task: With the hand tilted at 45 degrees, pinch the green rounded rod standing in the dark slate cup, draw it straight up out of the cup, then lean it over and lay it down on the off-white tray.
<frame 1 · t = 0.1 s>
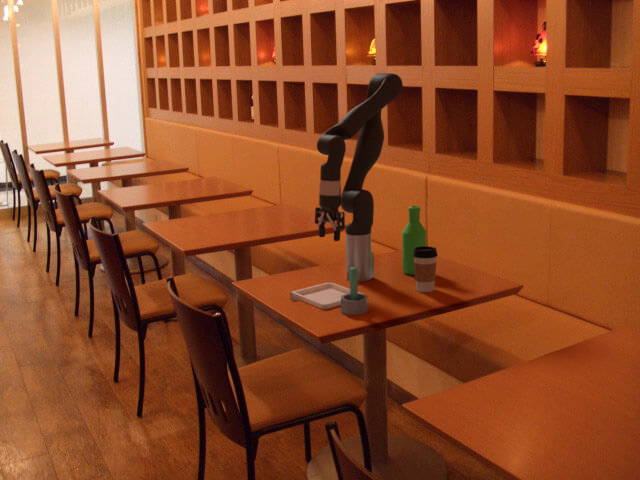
hand: (329, 238, 276), 17 cm above the table, tool pointing down, fingers open, 8 cm apart
bottle: (414, 272, 293), on the table
green rounded rod: (354, 310, 250), point 1 cm above the table, touching cup
cup: (354, 313, 250), on the table
tray: (327, 300, 265), on the table
coffee cup: (425, 290, 272), on the table
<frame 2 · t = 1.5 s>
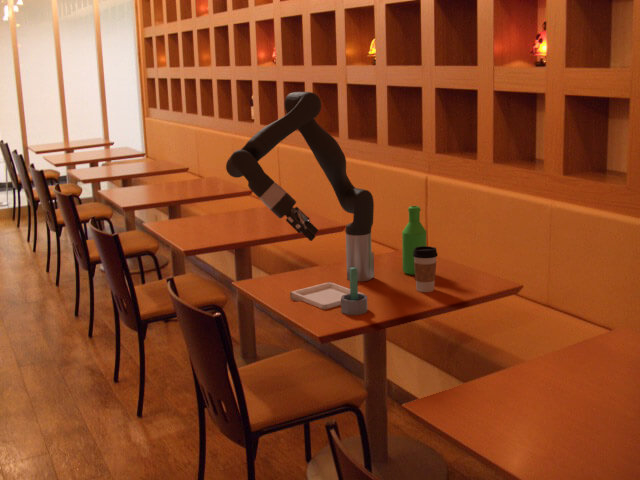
hand: (314, 235, 248), 25 cm above the table, tool tilted 45°, fingers open, 8 cm apart
nothing on the table moved.
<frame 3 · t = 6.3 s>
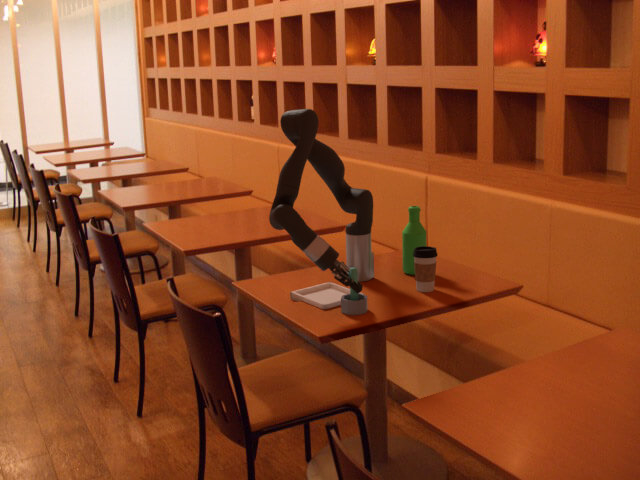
hand: (360, 289, 248), 8 cm above the table, tool tilted 45°, fingers closed on green rounded rod, 2 cm apart
green rounded rod: (354, 310, 250), point 1 cm above the table, touching cup, gripper
everything else where it was.
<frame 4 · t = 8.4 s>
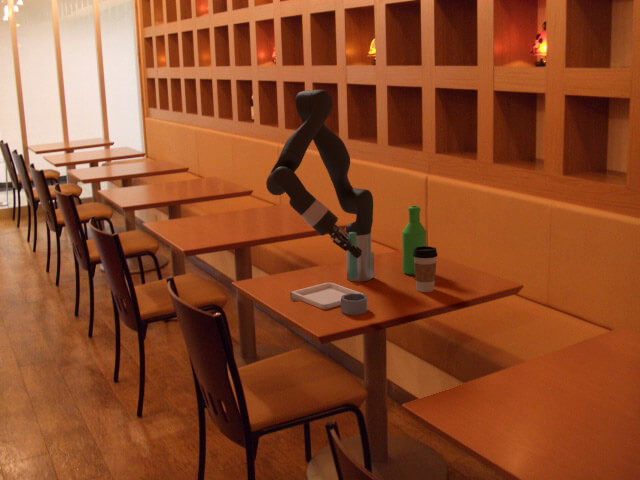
hand: (359, 254, 245), 19 cm above the table, tool tilted 45°, fingers closed on green rounded rod, 2 cm apart
green rounded rod: (353, 276, 247), point 12 cm above the table, touching gripper
everything else where it was.
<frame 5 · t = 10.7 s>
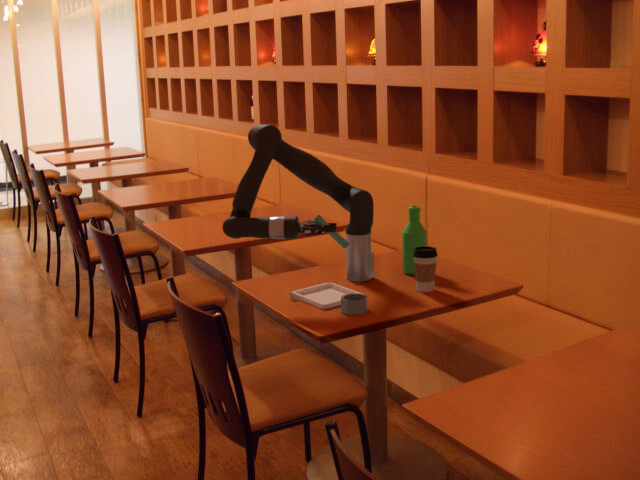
hand: (336, 227, 258), 25 cm above the table, tool horizontal, fingers closed on green rounded rod, 2 cm apart
green rounded rod: (346, 246, 259), point 19 cm above the table, tilted 44°, touching gripper
everything else where it was.
when the fingers open (9 cm above the table, at t = 14.0 s): green rounded rod moves 1 cm and tips over, resting on tray.
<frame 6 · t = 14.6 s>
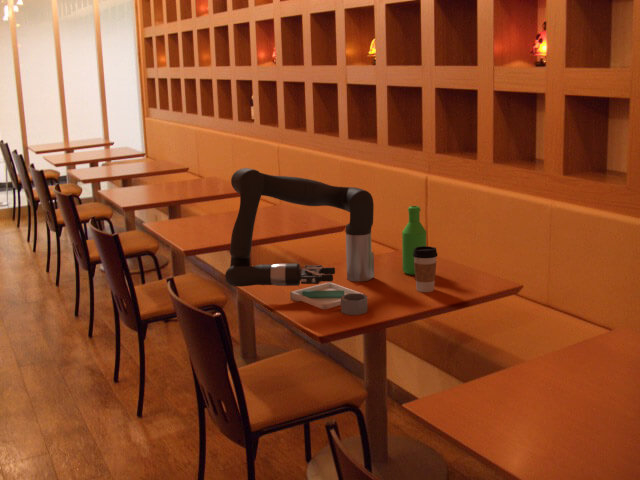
hand: (333, 274, 262), 9 cm above the table, tool horizontal, fingers open, 8 cm apart
green rounded rod: (344, 293, 263), point 2 cm above the table, tilted 90°, touching tray
everything else where it was.
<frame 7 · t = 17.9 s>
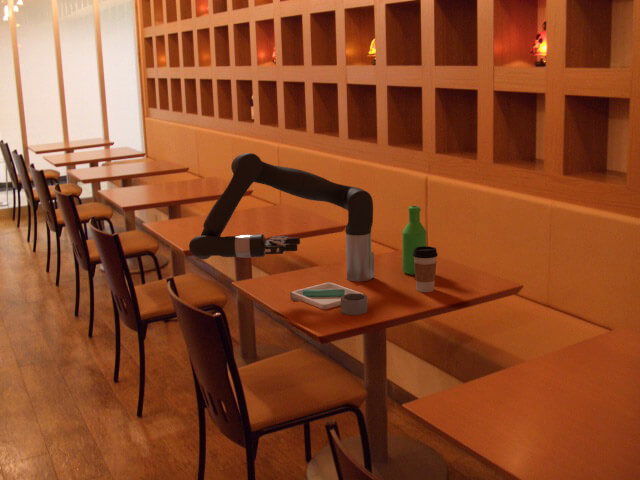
hand: (298, 244, 260), 20 cm above the table, tool horizontal, fingers open, 8 cm apart
green rounded rod: (344, 292, 264), point 2 cm above the table, tilted 90°, touching tray
everything else where it was.
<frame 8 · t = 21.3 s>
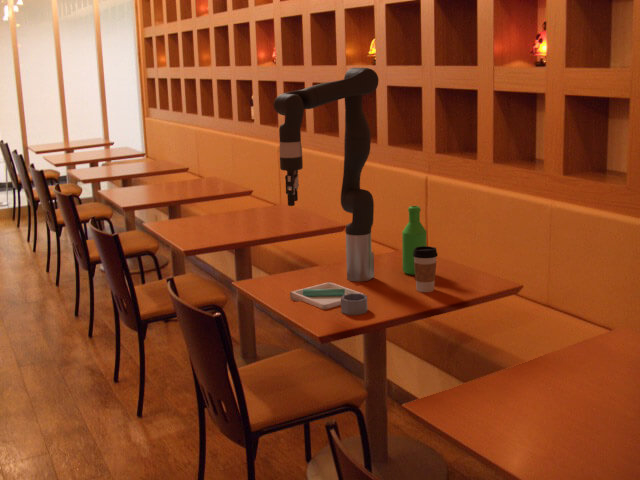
hand: (292, 203, 264), 32 cm above the table, tool pointing down, fingers open, 8 cm apart
nothing on the table moved.
at the end: green rounded rod inside the target area on the tray (6.0 cm from its centre), point 2.2 cm above the tray's base; green rounded rod tilted 90°; the gripper is holding nothing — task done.
